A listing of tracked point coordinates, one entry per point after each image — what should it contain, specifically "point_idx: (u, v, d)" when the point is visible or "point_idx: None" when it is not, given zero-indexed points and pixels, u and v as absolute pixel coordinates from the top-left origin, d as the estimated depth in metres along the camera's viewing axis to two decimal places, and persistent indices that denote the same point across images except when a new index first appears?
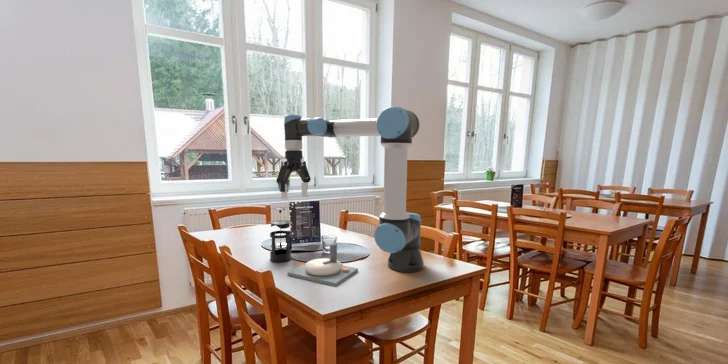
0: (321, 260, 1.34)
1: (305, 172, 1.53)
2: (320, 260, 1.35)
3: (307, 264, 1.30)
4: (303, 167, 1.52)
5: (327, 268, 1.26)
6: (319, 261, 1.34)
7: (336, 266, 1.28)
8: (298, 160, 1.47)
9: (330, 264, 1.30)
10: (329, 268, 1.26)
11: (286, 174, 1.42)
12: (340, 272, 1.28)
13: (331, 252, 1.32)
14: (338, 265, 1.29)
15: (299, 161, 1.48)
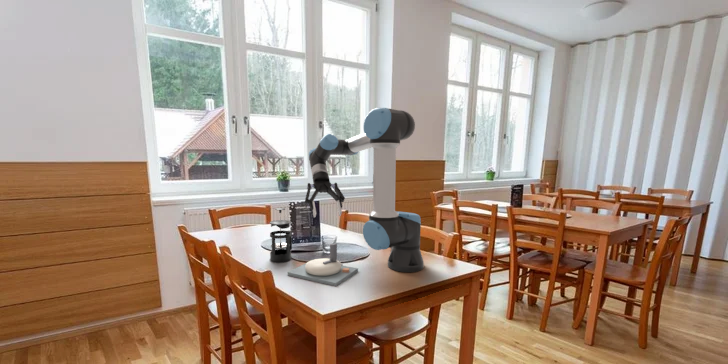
0: (321, 260, 1.34)
1: (338, 192, 1.50)
2: (320, 260, 1.35)
3: (307, 264, 1.30)
4: (335, 188, 1.52)
5: (327, 268, 1.26)
6: (319, 261, 1.34)
7: (336, 266, 1.28)
8: (326, 181, 1.52)
9: (330, 264, 1.30)
10: (329, 268, 1.26)
11: (313, 194, 1.46)
12: (340, 272, 1.28)
13: (331, 252, 1.32)
14: (338, 265, 1.29)
15: (327, 182, 1.52)
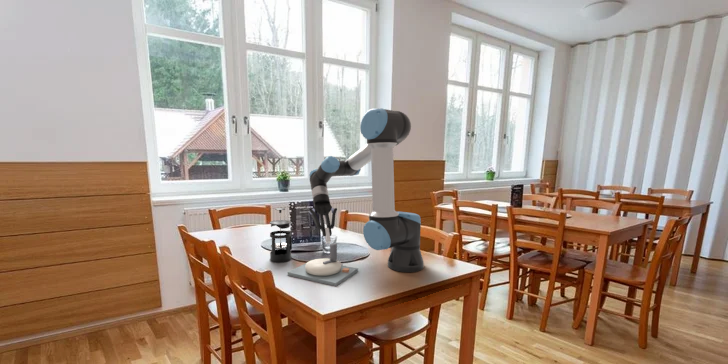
0: (321, 260, 1.34)
1: (332, 218, 1.48)
2: (320, 260, 1.35)
3: (307, 264, 1.30)
4: None
5: (327, 268, 1.26)
6: (319, 261, 1.34)
7: (336, 266, 1.28)
8: (328, 203, 1.52)
9: (330, 264, 1.30)
10: (329, 268, 1.26)
11: (320, 219, 1.46)
12: (340, 272, 1.28)
13: (331, 252, 1.32)
14: (338, 265, 1.29)
15: (329, 204, 1.51)
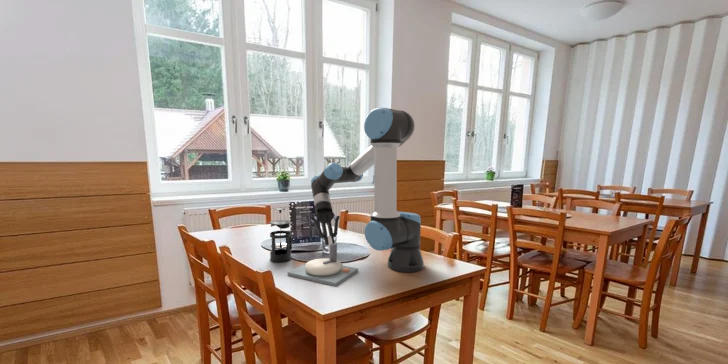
0: (321, 260, 1.34)
1: (334, 226, 1.44)
2: (320, 260, 1.35)
3: (307, 264, 1.30)
4: (335, 221, 1.46)
5: (327, 268, 1.26)
6: (319, 261, 1.34)
7: (336, 266, 1.28)
8: (330, 210, 1.48)
9: (330, 264, 1.30)
10: (329, 268, 1.26)
11: (323, 228, 1.42)
12: (340, 272, 1.28)
13: (331, 252, 1.32)
14: (338, 265, 1.29)
15: (331, 212, 1.47)
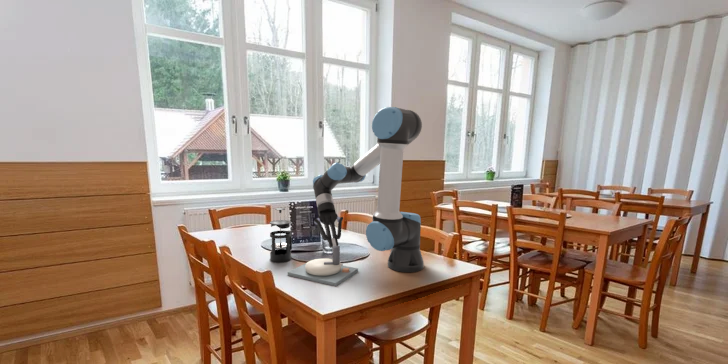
0: (328, 260, 1.34)
1: (338, 227, 1.41)
2: (328, 260, 1.35)
3: (311, 261, 1.34)
4: (338, 222, 1.42)
5: (318, 268, 1.25)
6: (326, 260, 1.34)
7: (328, 269, 1.25)
8: (333, 211, 1.44)
9: (328, 265, 1.28)
10: (319, 268, 1.25)
11: (326, 230, 1.39)
12: (340, 272, 1.28)
13: None
14: (331, 268, 1.25)
15: (334, 213, 1.44)
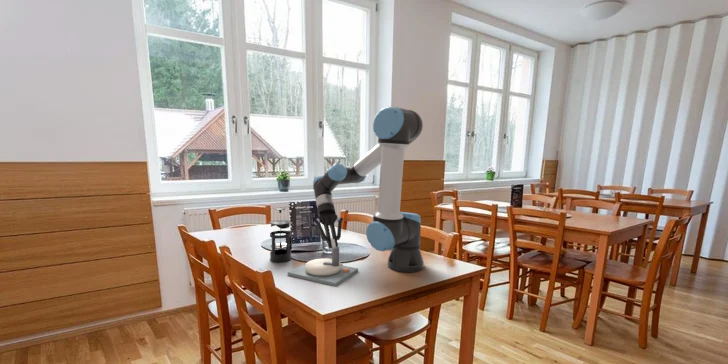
0: (330, 261, 1.34)
1: (338, 228, 1.39)
2: (331, 261, 1.34)
3: (315, 260, 1.35)
4: (338, 223, 1.41)
5: (315, 267, 1.26)
6: (328, 261, 1.34)
7: (324, 269, 1.24)
8: (333, 212, 1.43)
9: (326, 266, 1.28)
10: (315, 268, 1.25)
11: (326, 230, 1.37)
12: (340, 272, 1.28)
13: (332, 255, 1.29)
14: (327, 269, 1.25)
15: (334, 214, 1.43)
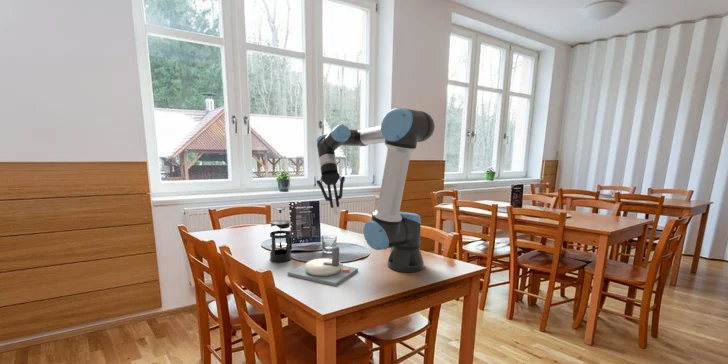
0: (330, 261, 1.34)
1: None
2: (331, 261, 1.34)
3: (315, 260, 1.35)
4: (340, 182, 1.47)
5: (315, 267, 1.26)
6: (328, 261, 1.34)
7: (324, 269, 1.24)
8: (335, 171, 1.48)
9: (326, 266, 1.28)
10: (315, 268, 1.25)
11: (328, 190, 1.45)
12: (340, 272, 1.28)
13: (332, 255, 1.29)
14: (327, 269, 1.25)
15: (336, 173, 1.48)
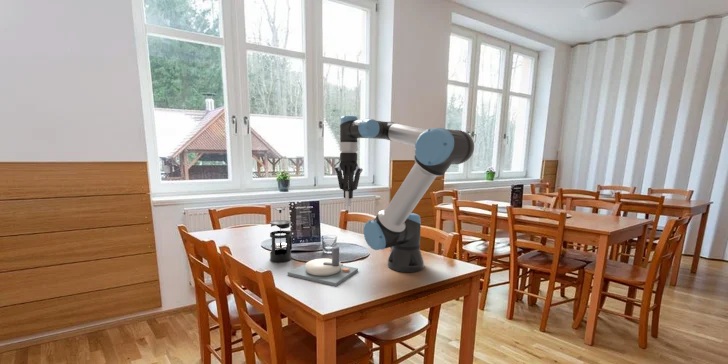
0: (330, 261, 1.34)
1: None
2: (331, 261, 1.34)
3: (315, 260, 1.35)
4: None
5: (315, 267, 1.26)
6: (328, 261, 1.34)
7: (324, 269, 1.24)
8: (353, 161, 1.42)
9: (326, 266, 1.28)
10: (315, 268, 1.25)
11: None
12: (340, 272, 1.28)
13: (332, 255, 1.29)
14: (327, 269, 1.25)
15: (353, 163, 1.42)
